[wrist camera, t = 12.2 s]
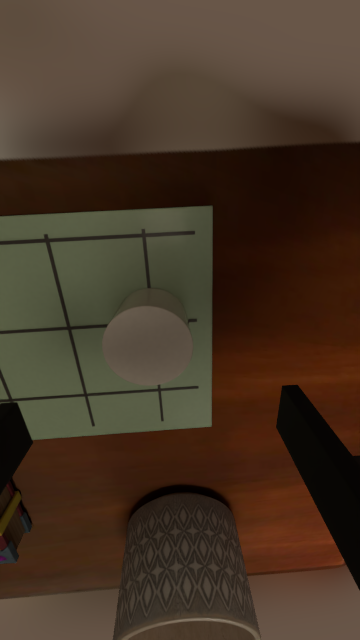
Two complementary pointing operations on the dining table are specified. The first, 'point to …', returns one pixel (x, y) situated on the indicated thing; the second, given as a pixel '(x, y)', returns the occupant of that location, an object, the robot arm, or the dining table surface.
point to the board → (100, 317)
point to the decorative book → (11, 524)
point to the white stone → (148, 338)
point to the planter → (184, 574)
